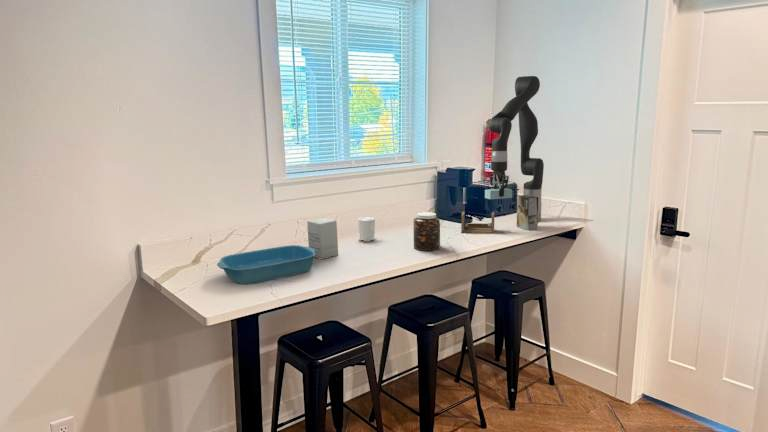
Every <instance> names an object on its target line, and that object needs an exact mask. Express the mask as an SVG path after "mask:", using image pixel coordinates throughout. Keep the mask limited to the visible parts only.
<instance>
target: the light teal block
mask: <svg viewBox="0 0 768 432" xmlns="http://www.w3.org/2000/svg"><path fill="white" fill-rule="evenodd" d="M499 189H500V188H498V189H493V188H492V189H491V188H490V189H484V199H488V200H496V199H497V200H499V199H512V198H513V188H508V187H507V188H505V189H504V196H503V197H500V196H499Z"/></svg>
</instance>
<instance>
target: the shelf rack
mask: <svg viewBox="0 0 768 432" xmlns="http://www.w3.org/2000/svg"><path fill="white" fill-rule="evenodd" d="M465 213H466V212H465V211H462V212H461V221H460V222H461V223H460V224H461V225H460V227H461V228H460V230H461V231H460V233H461V234H493V235H494V234H495V212H493V211H492V212H491V222H487V223H480V222H479V223H478V222H477V223H474V222H473V223H472V222H471V223H469V222H465V217H466V216H465V215H466V214H465Z"/></svg>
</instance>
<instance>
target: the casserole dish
mask: <svg viewBox="0 0 768 432" xmlns="http://www.w3.org/2000/svg"><path fill="white" fill-rule="evenodd" d="M314 252H315V249H313V248H311V247H309V246H302V245H291V244H290V245H282V246H277V247H276V246H275V247H270V248H264V249H257V250H251V251H245V252H240V253H234V254H229V255H225V256H223V257H221V258H220V259H219V260H220V261H218V262H217V263H216V266H217V267H218V268H219V269H222V270H223V271H224V273H225V275H226V276H227V277H228V278H230V280H232V281H233V282H235V283H237V284H240V285H248V283H250V284H256V283H255V282H257V283H261V281H262V282H267V280H268V281H272V279H273V280H277V279H283V278H287V276H288V277H292V276H296V275H300V274H304V273H307V272H308V271H309V270H310V269H311V268H312V266H313V263H314V259H315V257H314V256H315V253H314Z"/></svg>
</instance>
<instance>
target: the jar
mask: <svg viewBox="0 0 768 432" xmlns="http://www.w3.org/2000/svg"><path fill="white" fill-rule="evenodd" d="M440 248H441V221H440V218H438V216H437V213H435V212H431V211H429V212H428V211H423V212H418V213H417V214H416V217H415V218H414V219H413V249H414V250H417V251H420V252H433V251H438V250H439V249H440Z"/></svg>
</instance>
